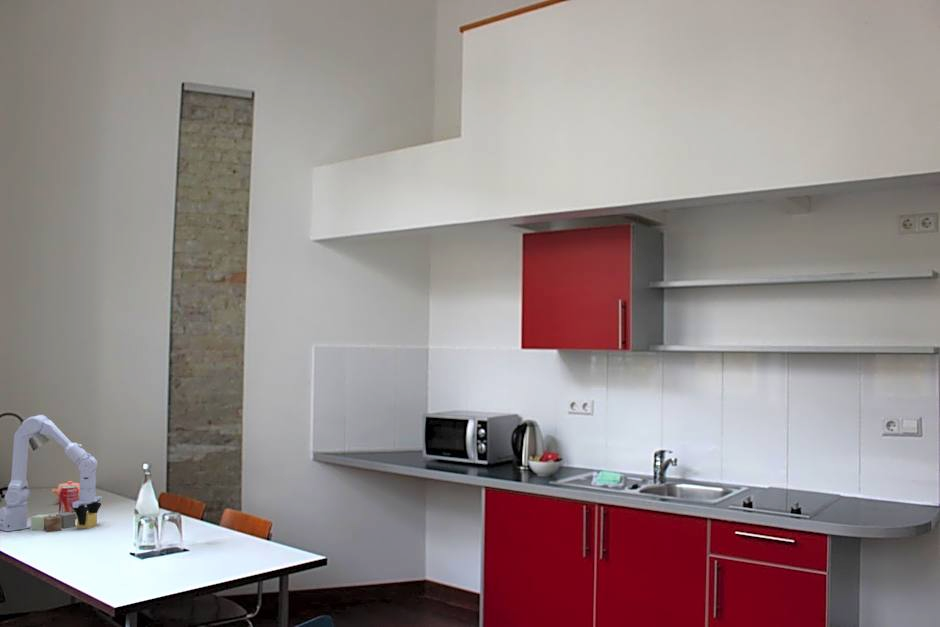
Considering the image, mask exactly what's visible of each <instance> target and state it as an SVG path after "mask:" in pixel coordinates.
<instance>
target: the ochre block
mask: <svg viewBox="0 0 940 627" xmlns="http://www.w3.org/2000/svg"><path fill="white" fill-rule="evenodd" d="M76 523H77V525H76V528H77V529H91V528H93V527H94V528H95V527H97V526H98V525H97V524H98V512H97V513H88V511H87V514H86V522H85V525H80V524H79V521H78V517H76Z"/></svg>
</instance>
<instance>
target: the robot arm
mask: <svg viewBox="0 0 940 627" xmlns="http://www.w3.org/2000/svg"><path fill="white" fill-rule="evenodd" d="M38 433H39V435H40V434H41V435H47V436H50V437H51V439H53V440H54V441H55V442H57V444H59V445H60V446H61V447H62V448H64V454H65V455H66V456H67V457H68V458H69V459H70V460H71V461H72V462H73V463H74V464H75V465H77V468H78V471H79V472H80V474H79V476H80V477H79V483H80V500H78V501H76V502H73V509H74V511H75V512H76V514H77V517H78V521H79V524H80V525H85V522H86V514H87V512H88V513H97V514H98V511H99V509H100V508H101V507H102V501H103V496H96V487H97V486H96V485H97V484H96V483H97V476H96V472H97V467H98V466H99V465H98V464H99V463H98V459H96V456H93V455H91V453H90V452H89V453H88V452H87V451H86V450H85V449H84V448H83V445H82V444H81V443H78V442H72V441H71V440H70V439H69V438H68V437H67V436H66V435H65V434H64V432H63V431H62V430H61V429H59V428H58V427H57V425H56V424H55V423H54V422H53V421H52V420H51V419H49V418H48V417H47V416H46V415H44V414H37V415H34V416H30V417H27V418H26V419H25V420H24V421H22V422H21V424H20V426H19V427H18V429H17V430H16V432H15V433H14V436H13V448H12V449H13V450H12V466H11V475H10V476H11V477H10V478H11V479H10V482H9V484H8V486H7V491H6V492H5V495H4V501H5V503H6V505H5V506H3V507H0V530H1V531H3V532H13V531H19V530H26V529H31V525H28V500H29V498H30V496H31V492H30V491H31V490H30V489H29V483H28V480H27V473H28V472H27V471H28V459H29V446H30V445H29V443H30V442H29V440H30V439H31V438H32V437H33V436H35V435H36V434H38ZM77 517H76V518H77Z"/></svg>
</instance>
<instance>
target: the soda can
mask: <svg viewBox="0 0 940 627" xmlns="http://www.w3.org/2000/svg"><path fill="white" fill-rule="evenodd" d="M60 488H61V489H60V491H59V501H58V514H61V513H66V512H69V513H75V514H76V512H75V511H74V509H73V502H76V501H78V489H77V486H76V485H67V486H62V487H60ZM75 519H77V514H76V516H75Z"/></svg>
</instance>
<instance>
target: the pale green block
mask: <svg viewBox="0 0 940 627" xmlns="http://www.w3.org/2000/svg"><path fill="white" fill-rule="evenodd" d="M51 516H52V514H37V515H33V516H31V519H30V521H31V522H30V526H31V528H30V530H31V531H45V517H51Z"/></svg>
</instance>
